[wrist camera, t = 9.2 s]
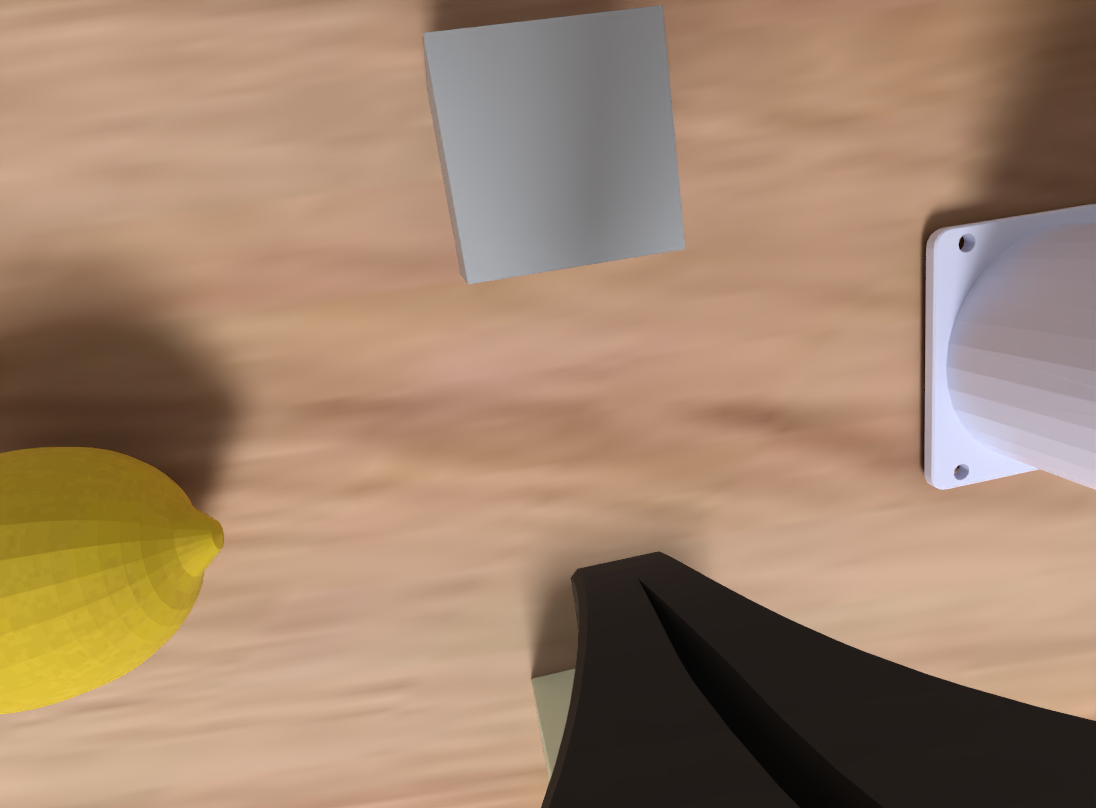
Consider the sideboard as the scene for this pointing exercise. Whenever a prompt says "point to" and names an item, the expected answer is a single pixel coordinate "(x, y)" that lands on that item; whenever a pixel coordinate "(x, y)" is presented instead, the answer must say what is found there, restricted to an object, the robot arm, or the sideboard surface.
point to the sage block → (552, 711)
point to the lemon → (91, 569)
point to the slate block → (556, 141)
